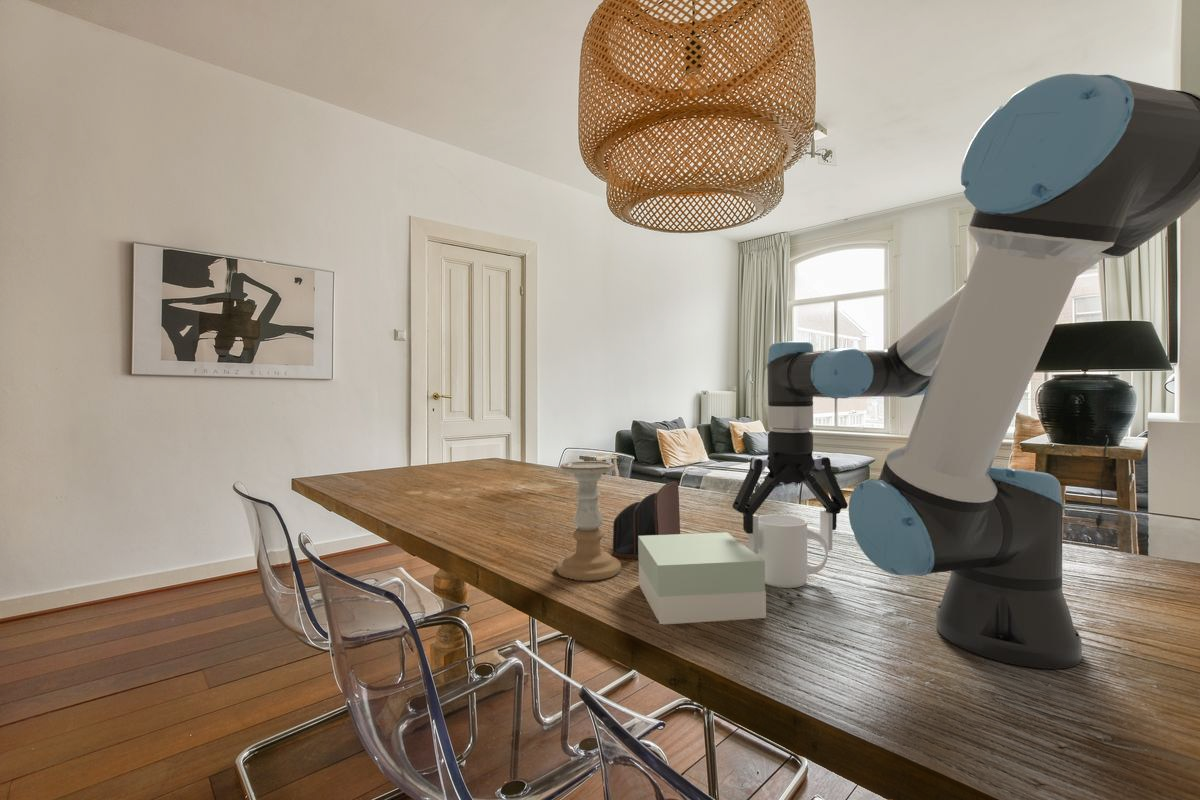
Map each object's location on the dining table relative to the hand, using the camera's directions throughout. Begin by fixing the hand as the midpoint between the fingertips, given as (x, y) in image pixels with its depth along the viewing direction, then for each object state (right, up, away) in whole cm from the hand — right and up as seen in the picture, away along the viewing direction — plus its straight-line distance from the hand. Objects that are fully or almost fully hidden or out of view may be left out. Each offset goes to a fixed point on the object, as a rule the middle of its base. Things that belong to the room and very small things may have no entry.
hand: (790, 549), depth 92 cm
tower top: (-18, -2, -8) cm, 20 cm away
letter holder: (-23, -6, +22) cm, 32 cm away
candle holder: (-36, -6, +7) cm, 37 cm away
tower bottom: (-18, -6, -8) cm, 21 cm away
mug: (0, -6, 0) cm, 6 cm away
